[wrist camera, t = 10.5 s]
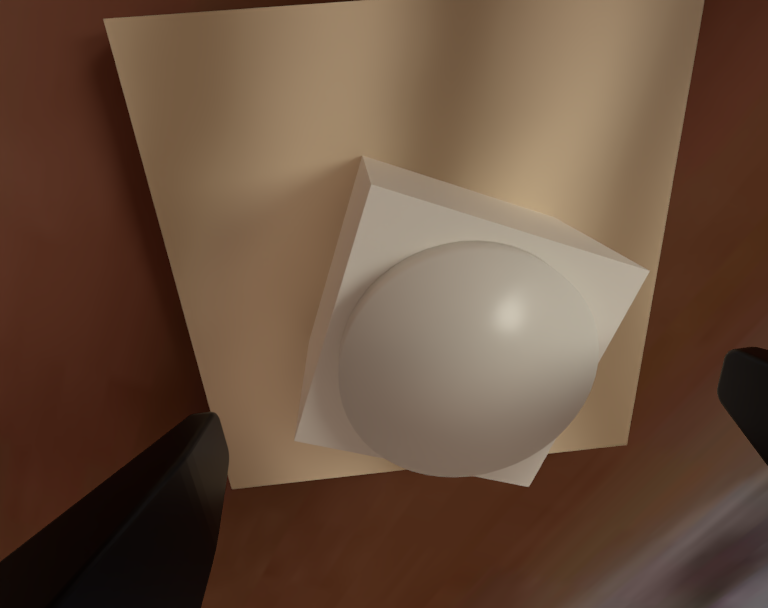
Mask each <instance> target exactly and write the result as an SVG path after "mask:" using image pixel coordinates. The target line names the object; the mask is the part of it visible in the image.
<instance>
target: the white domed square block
mask: <svg viewBox="0 0 768 608" xmlns="http://www.w3.org/2000/svg"><path fill="white" fill-rule="evenodd" d="M649 272H650V271H649V270H647V269H646V268H644V267H642V266H640V265H638V264H637V263H635V262H633V261H631V260H629V259H628V258H626V257H624V256H622V255H621V254H619V253H617V252H615V251H613V250H612V249H610V248H608V247H606V246H605V245H603V244H601V243H599V242H597V241H596V240H594V239H592V238H590V237H589V236H587V235H585V234H583V233H581V232H580V231H578V230H576V229H574V228H572V227H571V226H569V225H567V224H565V223H564V222H562V221H560V220H558V219H556V218H555V217H552V216H549V215H546V214H543V213H540V212H537V211H533V210H530V209H527V208H524V207H521V206H518V205H515V204H512V203H509V202H506V201H502V200H499V199H496V198H493V197H490V196H487V195H484V194H481V193H478V192H475V191H471V190H468V189H465V188H462V187H459V186H456V185H453V184H450V183H447V182H444V181H440V180H437V179H434V178H431V177H428V176H425V175H422V174H419V173H416V172H413V171H409V170H406V169H403V168H400V167H397V166H394V165H391V164H388V163H385V162H381V161H378V160H375V159H372V158H369V157H366V156H363V155H362V158H361V161H360V165H359V168H358V172H357V175H356V179H355V182H354V186H353V189H352V193H351V196H350V200H349V203H348V207H347V210H346V214H345V217H344V221H343V224H342V228H341V231H340V235H339V238H338V242H337V245H336V249H335V252H334V256H333V259H332V263H331V266H330V269H329V273H328V276H327V280H326V283H325V287H324V290H323V294H322V297H321V301H320V304H319V308H318V311H317V315H316V318H315V322H314V325H313V329H312V332H311V336H310V339H309V344H308V351H307V358H306V365H305V371H304V378H303V385H302V391H301V398H300V405H299V412H298V418H297V425H296V432H295V439H294V441H297V442H302V443H307V444H312V445H317V446H322V447H327V448H333V449H338V450H343V451H348V452H353V453H358V454H363V455H368V456H373V457H378V458H384V459H386V460H388V461H390V462H392V463H394V464H395V465H397V466H400V467H402V468H405V469H407V470H410V471H413V472H417V473H421V474H425V475H431V476H439V477H467V476H475V477H480V478H485V479H491V480H496V481H501V482H506V483H511V484H516V485H521V486H526V487H529V486H530V484H531V482H532V481H533V479H534V477H535V475H536V473H537V472H538V470H539V468H540V466H541V465H542V463H543V461H544V459H545V457H546V456H547V454H548V452H549V450H550V448H551V447H552V445H553V443H554V441H555V440H556V438H557V437H558V436H559V435H560V434H561V433H562V432H563V431H564V430H565V429H566V428H567V427H568V425H569V424H570V423H571V422H572V421H573V419H574V418H575V417H576V416H577V414H578V413H579V411H580V409H581V408H582V406H583V405H584V403H585V401H586V399H587V397H588V395H589V393H590V391H591V388H592V385H593V382H594V379H595V377H596V372H597V366H598V363H599V361H600V359H601V357H602V356H603V354H604V352H605V350H606V349H607V347H608V345H609V343H610V341H611V340H612V338H613V336H614V334H615V332H616V331H617V329H618V327H619V325H620V324H621V322H622V320H623V318H624V316H625V315H626V313H627V311H628V309H629V307H630V306H631V304H632V302H633V300H634V299H635V297H636V295H637V293H638V291H639V290H640V288H641V286H642V284H643V282H644V281H645V279H646V277H647V275H648V274H649Z"/></svg>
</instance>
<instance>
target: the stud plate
mask: <svg viewBox="0 0 768 608" xmlns="http://www.w3.org/2000/svg"><path fill="white" fill-rule="evenodd" d="M704 1H705V0H361V1H347V2H333V3H319V4H305V5H291V6H277V7H263V8H249V9H235V10H221V11H207V12H193V13H179V14H165V15H151V16H137V17H123V18H109V19H103V20H104V24H105V27H106V31H107V35H108V38H109V42H110V46H111V49H112V53H113V57H114V60H115V64H116V68H117V71H118V75H119V79H120V82H121V86H122V89H123V93H124V97H125V100H126V104H127V108H128V111H129V115H130V119H131V122H132V126H133V130H134V133H135V137H136V141H137V144H138V148H139V152H140V155H141V159H142V163H143V166H144V170H145V174H146V177H147V181H148V185H149V188H150V192H151V196H152V199H153V203H154V207H155V210H156V214H157V218H158V221H159V225H160V229H161V232H162V236H163V240H164V243H165V247H166V250H167V254H168V258H169V261H170V265H171V269H172V272H173V276H174V280H175V283H176V287H177V291H178V294H179V298H180V302H181V305H182V309H183V313H184V316H185V320H186V324H187V327H188V331H189V335H190V338H191V342H192V346H193V349H194V353H195V357H196V360H197V364H198V368H199V371H200V375H201V379H202V382H203V386H204V390H205V393H206V397H207V400H208V404H209V408H210V411H211V412H215V413H216V414H217V415H218V416H219V418H220V422H221V425H222V428H223V432H224V435H225V439H226V442H227V446H228V450H229V467H228V477H229V481H230V485H231V488H232V489H239V488H248V487H257V486H266V485H275V484H283V483H292V482H301V481H310V480H319V479H328V478H337V477H345V476H354V475H363V474H372V473H381V472H390V471H399V470H407V469H405V468H402V467H400V466H397V465H395V464H394V463H392V462H390V461H388V460H386V459H384V458H378V457H373V456H368V455H363V454H358V453H353V452H348V451H343V450H338V449H333V448H327V447H322V446H317V445H312V444H307V443H302V442H297V441H294V439H295V432H296V425H297V418H298V412H299V405H300V398H301V391H302V385H303V378H304V371H305V365H306V358H307V351H308V344H309V339H310V336H311V332H312V329H313V325H314V322H315V318H316V315H317V311H318V308H319V304H320V301H321V297H322V294H323V290H324V287H325V283H326V280H327V276H328V273H329V269H330V266H331V263H332V259H333V256H334V252H335V249H336V245H337V242H338V238H339V235H340V231H341V228H342V224H343V221H344V217H345V214H346V210H347V207H348V203H349V200H350V196H351V193H352V189H353V186H354V182H355V179H356V175H357V172H358V168H359V165H360V161H361V158H362V155H363V156H366V157H369V158H372V159H375V160H378V161H381V162H385V163H388V164H391V165H394V166H397V167H400V168H403V169H406V170H409V171H413V172H416V173H419V174H422V175H425V176H428V177H431V178H434V179H437V180H440V181H444V182H447V183H450V184H453V185H456V186H459V187H462V188H465V189H468V190H471V191H475V192H478V193H481V194H484V195H487V196H490V197H493V198H496V199H499V200H502V201H506V202H509V203H512V204H515V205H518V206H521V207H524V208H527V209H530V210H533V211H537V212H540V213H543V214H546V215H549V216H552V217H555V218H556V219H558V220H560V221H562V222H564V223H565V224H567V225H569V226H571V227H572V228H574V229H576V230H578V231H580V232H581V233H583V234H585V235H587V236H589V237H590V238H592V239H594V240H596V241H597V242H599V243H601V244H603V245H605V246H606V247H608V248H610V249H612V250H613V251H615V252H617V253H619V254H621V255H622V256H624V257H626V258H628V259H629V260H631V261H633V262H635V263H637V264H638V265H640V266H642V267H644V268H646V269H647V270H649V271H650V272H649V274H648V275H647V277H646V279H645V281H644V282H643V284H642V286H641V288H640V290H639V291H638V293H637V295H636V297H635V299H634V300H633V302H632V304H631V306H630V307H629V309H628V311H627V313H626V315H625V316H624V318H623V320H622V322H621V324H620V325H619V327H618V329H617V331H616V332H615V334H614V336H613V338H612V340H611V341H610V343H609V345H608V347H607V349H606V350H605V352H604V354H603V356H602V357H601V359H600V361H599V363H598V366H597V372H596V377H595V379H594V382H593V385H592V388H591V391H590V393H589V395H588V397H587V399H586V401H585V403H584V405H583V406H582V408H581V409H580V411H579V413H578V414H577V416H576V417H575V418H574V419H573V421H572V422H571V423H570V424H569V425H568V427H567V428H566V429H565V430H564V431H563V432H562V433H561V434H560V435H559V436H558V437H557V438H556V440H555V441H554V443H553V445H552V447H551V448H550V450H549V452H548V454H549V453H558V452H567V451H576V450H585V449H594V448H602V447H611V446H620V445H627V441H628V435H629V429H630V424H631V418H632V412H633V406H634V401H635V395H636V389H637V384H638V378H639V372H640V366H641V361H642V355H643V349H644V344H645V338H646V332H647V326H648V321H649V315H650V309H651V304H652V298H653V292H654V286H655V281H656V275H657V269H658V264H659V258H660V252H661V246H662V241H663V235H664V229H665V224H666V218H667V212H668V206H669V201H670V195H671V189H672V184H673V178H674V172H675V166H676V161H677V155H678V149H679V144H680V138H681V132H682V126H683V121H684V115H685V109H686V104H687V98H688V92H689V86H690V81H691V75H692V69H693V64H694V58H695V52H696V46H697V41H698V35H699V29H700V24H701V18H702V12H703V6H704Z"/></svg>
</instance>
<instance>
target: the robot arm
mask: <svg viewBox="0 0 768 608" xmlns="http://www.w3.org/2000/svg"><path fill="white" fill-rule="evenodd" d="M717 394H718V397H719V400H720V402H721V403H722V405H723V406H724V408H725V409H726V410H727V412H728V413H729V414H730V416H731V417H732V418H733V420H734V421H735V422H736V424H737V425H738V426H739V428H740V429H741V430H742V432H743V433H744V435H745V436H746V437H747V439H748V440H749V441H750V443H751V444H752V445H753V447H754V448H755V449H756V451H757V452H758V453H759V455H760V456H761V457H762V459H763V460H764V461H765V463H766V464H767V465H768V350H766V349H762V348H758V347H747V348H739V349H733V350H731V351H729V352H728V353H727V354H726V355H725V358H724V362H723V366H722V370H721V375H720V379H719V383H718V388H717ZM228 467H229V450H228V446H227V442H226V439H225V435H224V432H223V428H222V425H221V422H220V418H219V416H218V415H217V414H216V413H215V412H205V413H197V414H192V415H190V416H188V417H187V418H186V419H184V420H183V421H182V422H180V423H179V424H178V425H177V426H175V427H174V428H173V429H171V430H170V431H169V432H168V433H166V434H165V435H164V436H162V437H161V438H160V439H158V440H157V441H156V442H155V443H153V444H152V445H151V446H149V447H148V448H147V449H146V450H144V451H143V452H142V453H140V454H139V455H138V456H136V457H135V458H134V459H133V460H131V461H130V462H129V463H127V464H126V465H125V466H124V467H122V468H121V469H120V470H118V471H117V472H116V473H114V474H113V475H112V476H111V477H109V478H108V479H107V480H105V481H104V482H103V483H102V484H100V485H99V486H98V487H96V488H95V489H94V490H92V491H91V492H90V493H89V494H87V495H86V496H85V497H83V498H82V499H81V500H80V501H78V502H77V503H76V504H74V505H73V506H72V507H70V508H69V509H68V510H67V511H65V512H64V513H63V514H61V515H60V516H59V517H57V518H56V519H55V520H54V521H52V522H51V523H50V524H48V525H47V526H46V527H45V528H43V529H42V530H41V531H39V532H38V533H37V534H35V535H34V536H33V537H32V538H30V539H29V540H28V541H26V542H25V543H24V544H23V545H21V546H20V547H19V548H17V549H16V550H15V551H13V552H12V553H11V554H10V555H8V556H7V557H6V558H4V559H3V560H2V561H1V562H0V608H201V605H202V601H203V598H204V594H205V590H206V586H207V582H208V579H209V575H210V571H211V567H212V564H213V559H214V555H215V551H216V546H217V540H218V534H219V528H220V521H221V514H222V508H223V501H224V494H225V487H226V481H227V474H228Z"/></svg>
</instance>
